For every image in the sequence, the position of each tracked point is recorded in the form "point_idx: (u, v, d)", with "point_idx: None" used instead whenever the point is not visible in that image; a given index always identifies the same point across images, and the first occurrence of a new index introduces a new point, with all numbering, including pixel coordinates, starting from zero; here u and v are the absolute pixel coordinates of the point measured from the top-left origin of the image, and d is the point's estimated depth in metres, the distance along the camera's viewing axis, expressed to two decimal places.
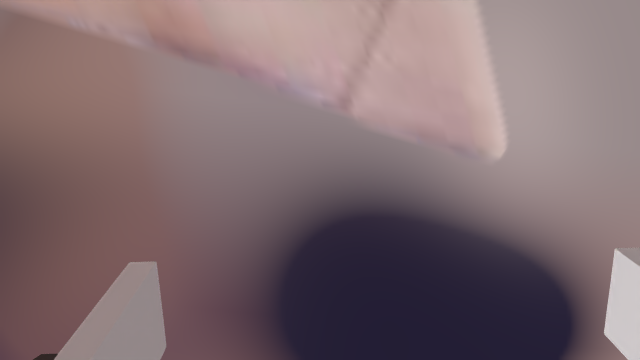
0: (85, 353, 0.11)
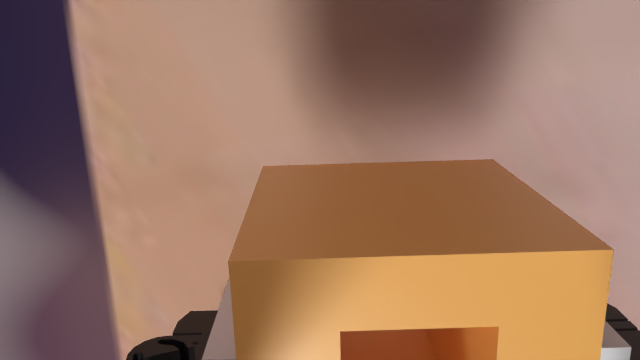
0: None
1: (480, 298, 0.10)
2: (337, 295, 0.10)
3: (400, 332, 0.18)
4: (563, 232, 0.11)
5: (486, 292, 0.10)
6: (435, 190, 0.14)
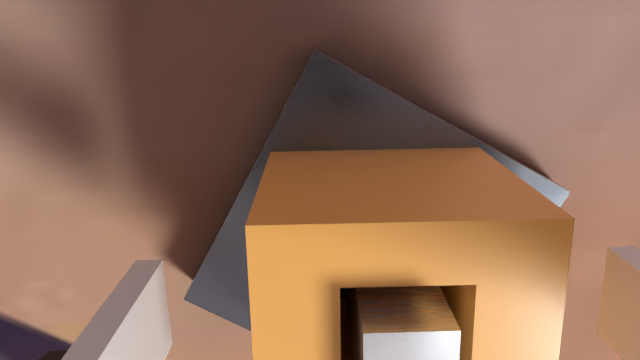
0: (94, 350, 0.11)
1: (460, 260, 0.12)
2: (338, 256, 0.12)
3: None
4: (533, 205, 0.12)
5: (465, 254, 0.12)
6: (425, 172, 0.15)
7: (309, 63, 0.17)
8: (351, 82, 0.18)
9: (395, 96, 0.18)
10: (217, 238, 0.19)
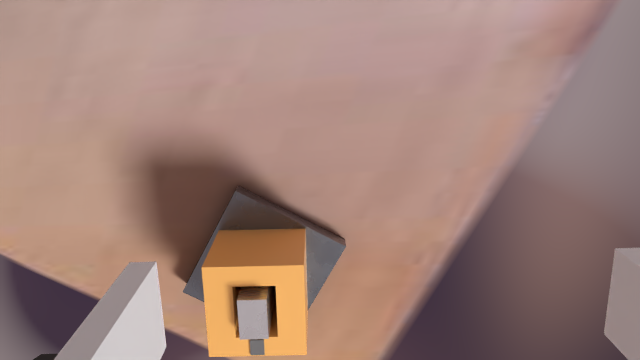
0: (85, 353, 0.11)
1: (269, 277, 0.38)
2: (230, 276, 0.38)
3: None
4: (296, 259, 0.38)
5: (271, 276, 0.38)
6: (273, 243, 0.41)
7: (233, 196, 0.43)
8: (251, 203, 0.43)
9: (269, 208, 0.44)
10: (197, 265, 0.45)
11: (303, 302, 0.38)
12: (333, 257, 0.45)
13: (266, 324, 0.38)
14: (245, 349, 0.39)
